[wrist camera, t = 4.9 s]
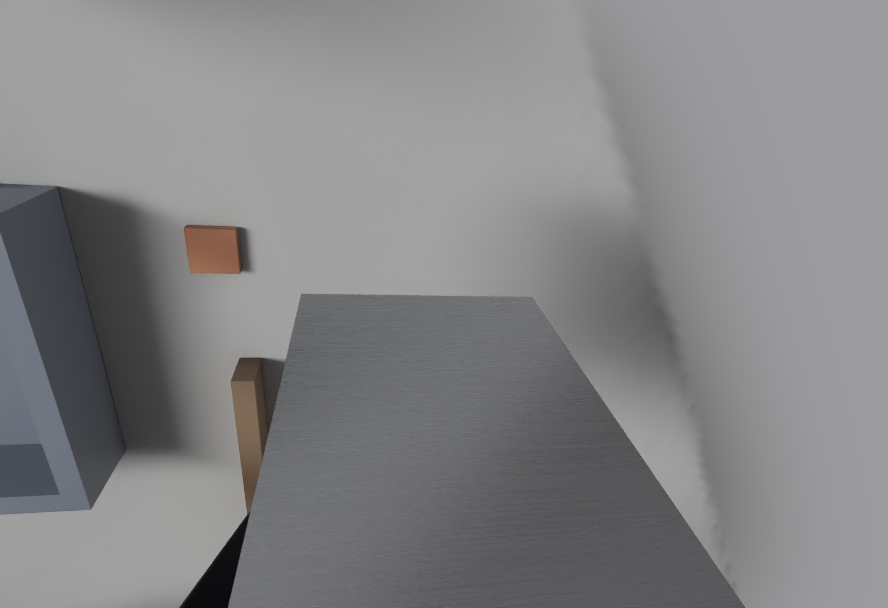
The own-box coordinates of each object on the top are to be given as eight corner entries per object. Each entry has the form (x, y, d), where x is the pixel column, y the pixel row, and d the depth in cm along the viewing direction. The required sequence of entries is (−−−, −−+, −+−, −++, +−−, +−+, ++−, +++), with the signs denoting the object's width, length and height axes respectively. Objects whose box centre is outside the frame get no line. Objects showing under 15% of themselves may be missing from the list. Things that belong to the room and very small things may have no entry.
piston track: (489, 545, 27) (496, 571, 25) (236, 563, 24) (230, 593, 23) (550, 238, 19) (564, 253, 17) (186, 225, 17) (171, 240, 15)
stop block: (488, 527, 12) (634, 1069, 5) (312, 539, 11) (250, 1177, 5) (531, 297, 9) (915, 854, 3) (300, 293, 8) (127, 1035, 2)
